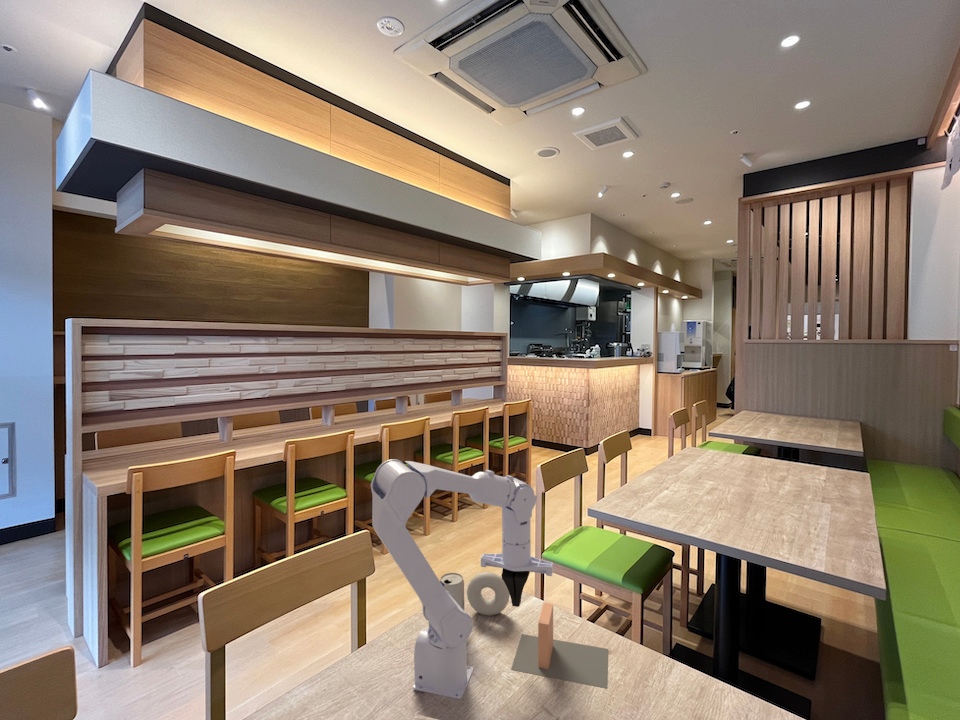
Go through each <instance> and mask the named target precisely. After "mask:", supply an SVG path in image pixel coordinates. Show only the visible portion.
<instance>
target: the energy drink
mask: <svg viewBox="0 0 960 720" xmlns="http://www.w3.org/2000/svg"><path fill="white" fill-rule="evenodd" d="M439 581H440V582H441V584H442V585H443V587H444V589H445V590H446V591H448V592H449V593H450V594H451V596H452V598H453V599H454V600H455V601H456V602H457V603H458V605H459V606H460V607H461V608H462V609H463V610H464V611H465V580H464V576H463V575H461V574H460V573H457V572H447V573H445V574H442V575H441V577H440V579H439Z"/></svg>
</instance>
